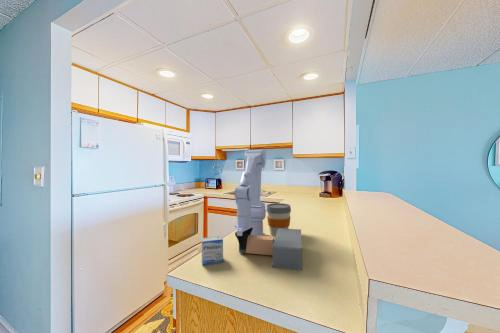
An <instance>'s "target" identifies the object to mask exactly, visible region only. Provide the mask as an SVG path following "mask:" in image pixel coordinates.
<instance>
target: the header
mask: <svg viewBox="0 0 500 333" xmlns="http://www.w3.org/2000/svg"><path fill="white" fill-rule="evenodd" d="M272 249H273V255H272V268H274V269H286V270H292V271H293V270H296V271H303V253H302V252H303V250H302V229H297V228H296V229H295V228H288V229H283V228H278V230H277V233H276V236H275V237H274V243H273V246H272Z"/></svg>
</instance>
